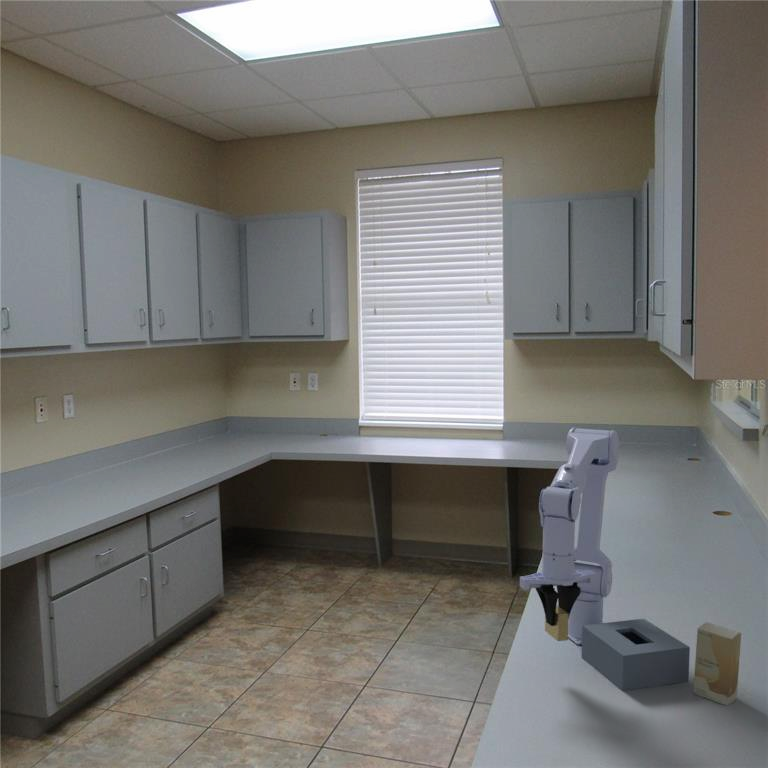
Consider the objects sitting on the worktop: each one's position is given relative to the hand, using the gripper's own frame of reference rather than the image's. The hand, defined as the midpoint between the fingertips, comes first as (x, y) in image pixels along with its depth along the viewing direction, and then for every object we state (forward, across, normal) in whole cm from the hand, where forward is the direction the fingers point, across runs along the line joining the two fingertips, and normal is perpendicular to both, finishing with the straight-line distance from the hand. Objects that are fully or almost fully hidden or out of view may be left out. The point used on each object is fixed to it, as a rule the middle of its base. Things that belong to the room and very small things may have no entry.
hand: (556, 623), depth 137 cm
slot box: (+10, +16, -1) cm, 19 cm away
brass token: (+2, 0, 0) cm, 2 cm away
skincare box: (+10, +24, -14) cm, 30 cm away
